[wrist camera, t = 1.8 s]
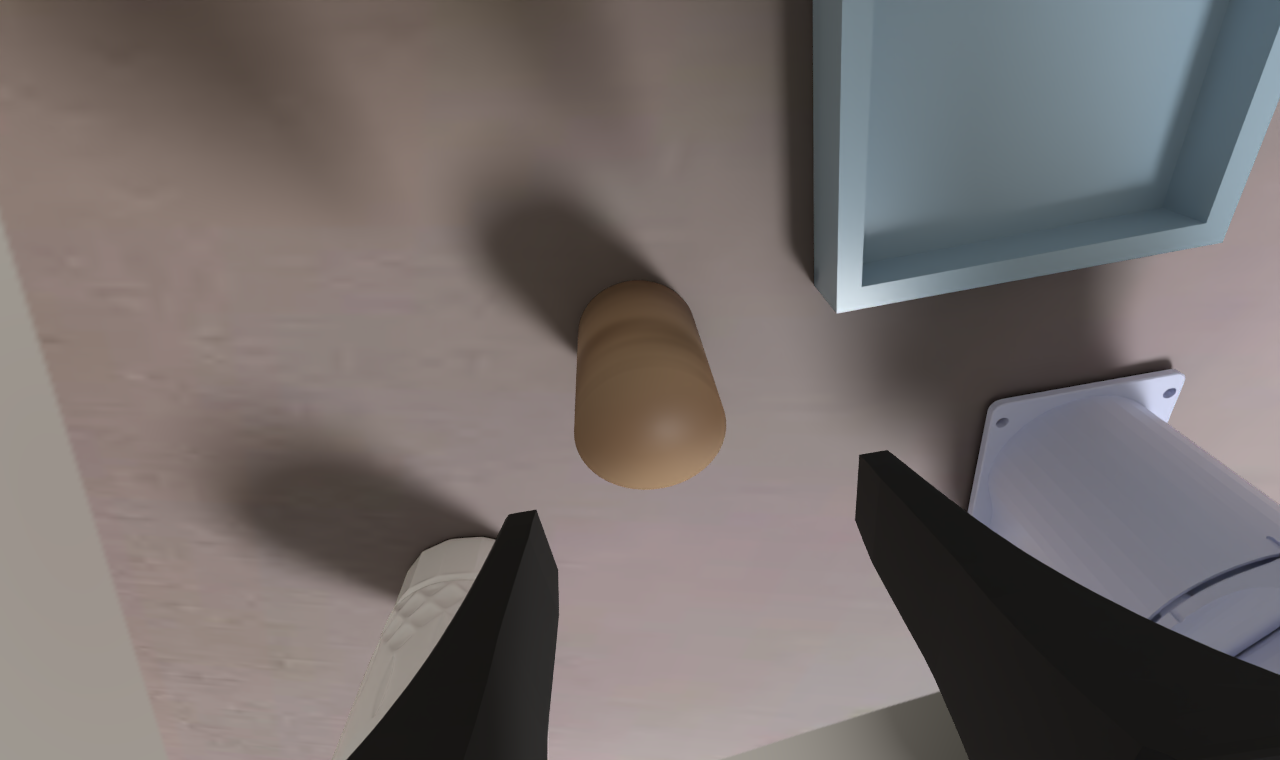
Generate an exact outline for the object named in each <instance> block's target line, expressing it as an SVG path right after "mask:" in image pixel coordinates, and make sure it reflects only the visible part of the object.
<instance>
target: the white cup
mask: <svg viewBox="0 0 1280 760" xmlns="http://www.w3.org/2000/svg"><path fill="white" fill-rule="evenodd" d="M494 542H495V539H490V538H486V537H470V538H457V539H449V540H447V541H444V542H442V543H440V544H438V545H436V546H433V547H431V548H429V549H427V550H425V551H423V552H422V553H421V554H420V556H419V557H418V558H417V560H416V561H415V562H414V564H413V565H412V566H411V568H410V569H409V570H408V572H407V575H406V577H405V580H404V582H403V585H402V588H401V591H400V593H399V596H398V599H397V601H396V604H395V607H394V609H393V610H392V612H391V614H390V616H389V618H388V620H387V622H386V624H385V626H384V629H383V631H382V633H381V636H380V639H379V643H378V645H377V647H376V649H375V651H374V653H373V655H372V658H371V660H370V662H369V665H368V667H367V670H366V672H365V675H364V677H363V680H362V682H361V685H360V688H359V690H358V693H357V695H356V698H355V701H354V703H353V706H352V708H351V711H350V714H349V716H348V719H347V721H346V724H345V727H344V729H343V732H342V734H341V737H340V739H339V742H338V745H337V747H336V750H335V752H334V755H333V757H332V760H346V759H347V758H348V757H349V756H350V755H351V754H352V753H353V752H354V750H355V749H356V748H357V747H358V746H359V745H360V744H361V743H362V742H363V740H364V739H365V738H366V737H367V736H368V735H369V733H370V732H371V731H372V730H373V729H374V728H375V726H376V725H377V724H378V723H379V721H380V720H381V719H382V718H383V717H384V715H385V714H386V713H387V711H388V710H389V709H390V708H391V706H392V705H393V704H394V702H395V701H396V700H397V699H398V697H399V696H400V695H401V693H402V692H403V691H404V690H405V688H406V687H407V686H408V684H409V683H410V682H411V680H412V679H413V677H414V676H415V675H416V673H417V672H418V671H419V669H420V668H421V666H422V665H423V664H424V662H425V661H426V659H427V658H428V656H429V655H430V653H431V652H432V650H433V649H434V647H435V646H436V644H437V643H438V641H439V640H440V638H441V637H442V635H443V633H444V632H445V630H446V628H447V627H448V625H449V624H450V622H451V620H452V619H453V617H454V615H455V614H456V612H457V611H458V609H459V607H460V606H461V604H462V602H463V601H464V599H465V597H466V595H467V593H468V592H469V590H470V588H471V586H472V584H473V583H474V581H475V579H476V577H477V575H478V573H479V572H480V570H481V568H482V566H483V564H484V562H485V560H486V558H487V556H488V554H489V552H490V550H491V548H492V546H493V544H494ZM548 732H549V724H548ZM547 760H548V751H547Z"/></svg>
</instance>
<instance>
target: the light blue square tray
mask: <svg viewBox="0 0 1280 760" xmlns="http://www.w3.org/2000/svg"><path fill="white" fill-rule="evenodd" d="M1279 98H1280V0H813V140H814V286H815V287H816V288H817V290H818V291H819V292H820V293H821V295H822V296H823V297H824V298H825V300H826V301H827V302H828V303H829V305H830V306H831V307H832V308H833V310H834V311H835V312H836V313H842V312H847V311H853V310H858V309H864V308H869V307H875V306H880V305H885V304H891V303H896V302H902V301H907V300H913V299H918V298H924V297H929V296H934V295H940V294H945V293H951V292H956V291H962V290H967V289H972V288H978V287H983V286H989V285H994V284H1000V283H1005V282H1010V281H1016V280H1021V279H1027V278H1032V277H1038V276H1043V275H1049V274H1054V273H1059V272H1065V271H1070V270H1076V269H1081V268H1087V267H1092V266H1097V265H1103V264H1108V263H1114V262H1119V261H1125V260H1130V259H1136V258H1141V257H1146V256H1152V255H1157V254H1163V253H1168V252H1174V251H1179V250H1184V249H1190V248H1195V247H1201V246H1206V245H1212V244H1217V243H1222V242H1223V240H1224V237H1225V234H1226V232H1227V229H1228V227H1229V224H1230V222H1231V219H1232V217H1233V214H1234V212H1235V209H1236V207H1237V204H1238V202H1239V199H1240V197H1241V194H1242V192H1243V189H1244V187H1245V184H1246V181H1247V179H1248V176H1249V174H1250V171H1251V169H1252V166H1253V164H1254V161H1255V159H1256V156H1257V154H1258V151H1259V149H1260V146H1261V144H1262V141H1263V139H1264V136H1265V134H1266V131H1267V128H1268V126H1269V123H1270V121H1271V118H1272V116H1273V113H1274V111H1275V108H1276V106H1277V103H1278V101H1279Z"/></svg>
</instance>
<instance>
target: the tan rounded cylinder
mask: <svg viewBox="0 0 1280 760" xmlns="http://www.w3.org/2000/svg"><path fill="white" fill-rule="evenodd" d="M725 432H726V418H725V413H724V409H723V406H722V403H721V400H720V397H719V394H718V391H717V388H716V385H715V382H714V379H713V376H712V373H711V370H710V367H709V364H708V361H707V358H706V355H705V352H704V349H703V346H702V342H701V339H700V336H699V333H698V330H697V327H696V324H695V321H694V318H693V315H692V313H691V310H690V309H689V307H688V305H687V304H686V302H685V301H684V300H683V299H682V298H681V297H680V296H679V295H678V294H677V293H676V292H674V291H673V290H672V289H670V288H668V287H666V286H664V285H661V284H659V283H655V282H651V281H644V280H633V281H626V282H622V283H618V284H615V285H613V286H611V287H609V288H607V289H605V290H603V291H602V292H601V293H599V294H598V295H597V296H596V297H595V298H593V299H592V301H591V302H590V303H589V304H588V305H587V307H586V309H585V310H584V312H583V314H582V317H581V319H580V323H579V329H578V348H577V373H576V398H575V424H574V438H575V443H576V447H577V450H578V452H579V455H580V456H581V458H582V460H583V461H584V463H585V464H586V465H587V466H588V467H589V468H590V469H591V470H592V471H593V472H594V473H595V474H597V475H598V476H599V477H601V478H603V479H605V480H606V481H608V482H611V483H613V484H616V485H619V486H622V487H626V488H632V489H643V490H645V489H659V488H665V487H669V486H673V485H676V484H679V483H681V482H683V481H686V480H688V479H690V478H691V477H693V476H695V475H696V474H698V473H699V472H701V471H702V470H703V469H704V468H705V467H706V466H708V465H709V464H710V463H711V461H712V460H713V459H714V458H715V456H716V455H717V453H718V452H719V450H720V448H721V446H722V444H723V441H724V437H725Z"/></svg>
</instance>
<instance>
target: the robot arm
mask: <svg viewBox="0 0 1280 760" xmlns="http://www.w3.org/2000/svg"><path fill="white" fill-rule="evenodd" d="M1184 381H1185V375H1184V374H1183V373H1181V372H1179V371H1178V370H1176V369H1168V370H1162V371H1157V372H1151V373H1145V374H1140V375H1134V376H1129V377H1123V378H1117V379H1112V380H1106V381H1100V382H1095V383H1089V384H1083V385H1078V386H1072V387H1067V388H1061V389H1055V390H1050V391H1044V392H1038V393H1033V394H1027V395H1022V396H1016V397H1010V398H1005V399H1000V400H997V401H995V402H994V403H992V404H991V405H990V407H989V409H988V411H987V417H986V422H985V427H984V432H983V437H982V442H981V447H980V452H979V457H978V462H977V467H976V472H975V477H974V482H973V487H972V492H971V497H970V502H969V507H968V512H966V511H965V510H964V509H962V508H961V507H959V506H958V505H957V504H955V503H954V502H953V501H951V500H950V499H949V498H947V497H946V496H945V495H944V494H942V493H941V492H940V491H938V490H937V489H936V488H935V487H933V486H932V485H931V484H929V483H928V482H927V481H926V480H924V479H923V478H922V477H921V476H919V475H918V474H917V473H916V472H914V471H913V470H912V469H911V468H909V467H908V466H907V465H906V464H904V463H903V462H902V461H901V460H899V459H898V458H897V457H896V456H894V455H893V454H892V453H890V452H889V451H888V450H885V451H879V452H874V453H868V454H862V455H859V469H858V484H857V500H856V515H855V521H856V523H857V526H858V529H859V531H860V534H861V536H862V539H863V542H864V544H865V546H866V549H867V551H868V554H869V556H870V559H871V561H872V563H873V565H874V567H875V569H876V571H877V573H878V574H879V576H880V578H881V580H882V582H883V584H884V585H885V587H886V589H887V591H888V593H889V595H890V596H891V598H892V600H893V602H894V604H895V605H896V607H897V609H898V611H899V613H900V615H901V616H902V618H903V620H904V622H905V624H906V625H907V627H908V629H909V631H910V633H911V634H912V636H913V638H914V640H915V642H916V643H917V645H918V647H919V649H920V651H921V653H922V654H923V656H924V658H925V660H926V662H927V664H928V666H929V668H930V670H931V672H932V674H933V676H934V678H935V680H936V683H937V685H938V687H939V689H940V692H941V694H942V696H943V699H944V701H945V703H946V706H947V708H948V710H949V712H950V715H951V717H952V719H953V722H954V724H955V726H956V729H957V731H958V733H959V736H960V738H961V741H962V743H963V745H964V748H965V750H966V753H967V755H968V757H969V760H1280V504H1278V503H1277V502H1275V501H1274V500H1273V499H1271V498H1270V497H1269V496H1267V495H1266V494H1264V493H1263V492H1262V491H1260V490H1259V489H1257V488H1256V487H1255V486H1253V485H1252V484H1251V483H1249V482H1248V481H1246V480H1245V479H1244V478H1242V477H1241V476H1240V475H1238V474H1237V473H1235V472H1234V471H1233V470H1231V469H1230V468H1228V467H1227V466H1226V465H1224V464H1223V463H1222V462H1220V461H1219V460H1217V459H1216V458H1215V457H1213V456H1212V455H1211V454H1209V453H1208V452H1206V451H1205V450H1204V449H1202V448H1201V447H1199V446H1198V445H1197V444H1195V443H1194V442H1193V441H1191V440H1190V439H1188V438H1187V437H1186V436H1184V435H1183V434H1181V433H1180V432H1179V431H1177V430H1176V429H1175V428H1173V427H1172V426H1170V425H1169V424H1168V423H1167V422H1168V420H1169V418H1170V415H1171V413H1172V410H1173V408H1174V406H1175V403H1176V401H1177V398H1178V396H1179V394H1180V391H1181V389H1182V386H1183V384H1184ZM1001 418H1002V419H1001ZM999 419H1001V420H999ZM998 420H999V421H998ZM558 618H559V591H558V569H557V566H556V563H555V560H554V558H553V555H552V552H551V549H550V547H549V544H548V541H547V538H546V535H545V533H544V530H543V527H542V524H541V522H540V519H539V516H538V513H537V511H536V510H532V511H526V512H520V513H514V514H509V515H508V517H507V518H506V519H505V522H504V524H503V526H502V528H501V530H500V532H499V534H498V536H497V538H496V540H495V542H494V544H493V546H492V548H491V550H490V552H489V554H488V556H487V558H486V560H485V562H484V564H483V566H482V568H481V570H480V572H479V573H478V575H477V577H476V579H475V581H474V583H473V584H472V586H471V588H470V590H469V592H468V593H467V595H466V597H465V599H464V601H463V602H462V604H461V606H460V607H459V609H458V611H457V612H456V614H455V615H454V617H453V619H452V620H451V622H450V624H449V625H448V627H447V628H446V630H445V632H444V633H443V635H442V637H441V638H440V640H439V641H438V643H437V644H436V646H435V647H434V649H433V650H432V652H431V653H430V655H429V656H428V658H427V659H426V661H425V662H424V664H423V665H422V666H421V668H420V669H419V671H418V672H417V673H416V675H415V676H414V677H413V679H412V680H411V682H410V683H409V684H408V686H407V687H406V688H405V690H404V691H403V692H402V693H401V695H400V696H399V697H398V699H397V700H396V701H395V702H394V704H393V705H392V706H391V708H390V709H389V710H388V711H387V713H386V714H385V715H384V717H383V718H382V719H381V720H380V721H379V723H378V724H377V725H376V726H375V728H374V729H373V730H372V731H371V732H370V733H369V735H368V736H367V737H366V738H365V739H364V740H363V742H362V743H361V744H360V745H359V746H358V747H357V748H356V749H355V750H354V752H353V753H352V754H351V755H350V756H349V757H348V758H347V759H346V760H547V751H548V724H549V711H550V701H551V691H552V681H553V671H554V661H555V650H556V640H557V629H558Z"/></svg>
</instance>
